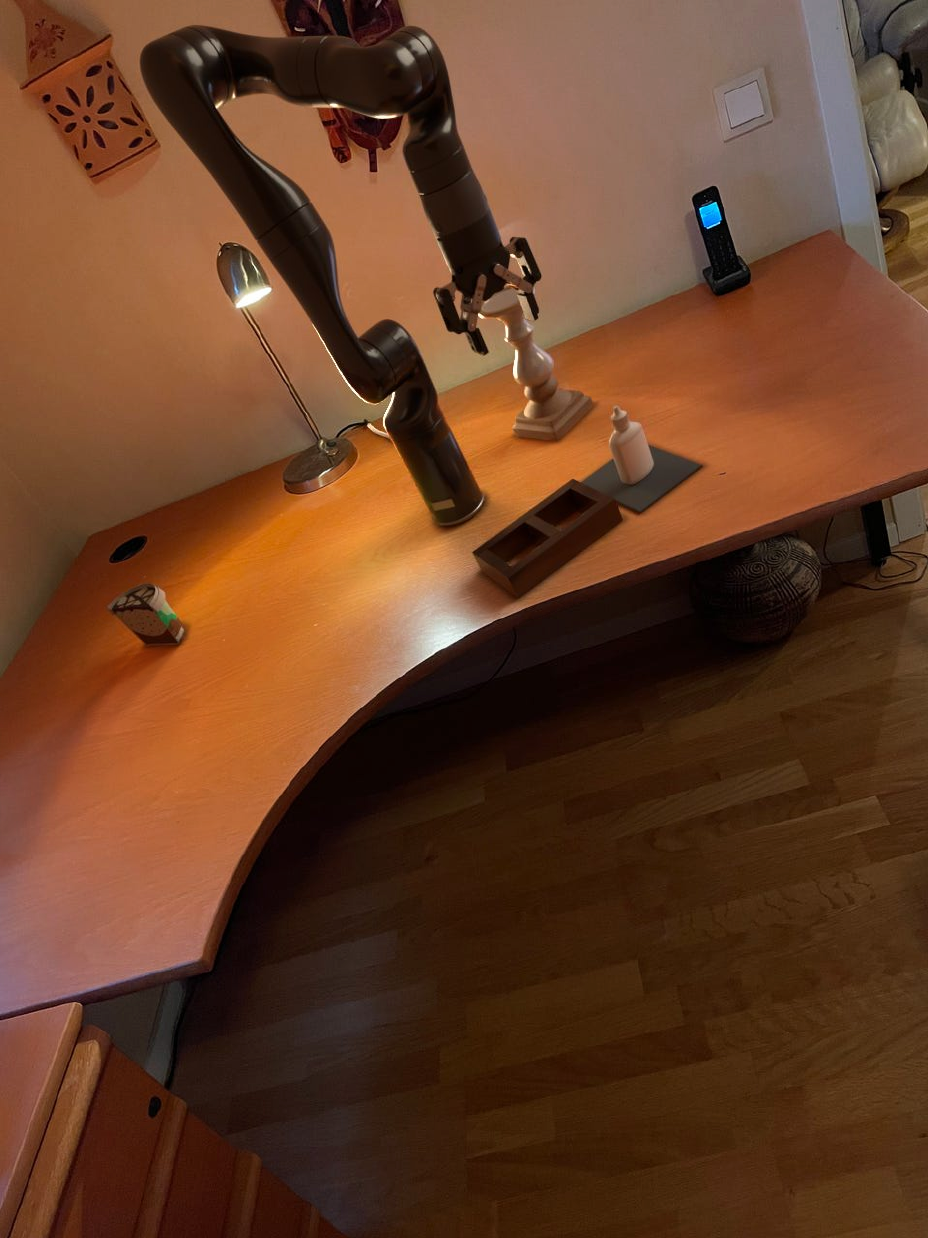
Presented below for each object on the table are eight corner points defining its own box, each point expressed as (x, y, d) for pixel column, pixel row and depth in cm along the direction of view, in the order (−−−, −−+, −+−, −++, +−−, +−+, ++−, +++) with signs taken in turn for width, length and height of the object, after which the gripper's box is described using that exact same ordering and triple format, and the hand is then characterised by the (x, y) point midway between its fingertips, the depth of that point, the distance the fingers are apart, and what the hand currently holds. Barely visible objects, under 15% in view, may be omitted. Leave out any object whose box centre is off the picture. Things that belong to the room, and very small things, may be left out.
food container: (204, 619, 150) (171, 578, 144) (186, 644, 146) (150, 603, 140) (160, 621, 156) (126, 583, 150) (140, 645, 152) (105, 607, 146)
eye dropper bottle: (660, 472, 124) (639, 403, 117) (626, 489, 124) (602, 421, 117) (650, 460, 127) (628, 392, 120) (616, 476, 128) (593, 409, 121)
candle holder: (550, 401, 156) (503, 281, 141) (595, 404, 148) (549, 277, 133) (514, 436, 152) (461, 316, 137) (558, 441, 144) (507, 314, 130)
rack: (482, 572, 125) (471, 552, 122) (580, 498, 128) (572, 478, 126) (518, 599, 117) (508, 578, 114) (623, 520, 120) (615, 498, 117)
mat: (580, 484, 131) (579, 482, 131) (637, 442, 133) (637, 440, 133) (640, 513, 119) (639, 511, 119) (702, 466, 121) (702, 464, 121)
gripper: (490, 188, 106) (534, 305, 116) (401, 246, 104) (453, 360, 114) (521, 188, 100) (564, 311, 110) (427, 249, 98) (480, 369, 108)
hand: (508, 336), depth 112 cm, fingers open, 8 cm apart
